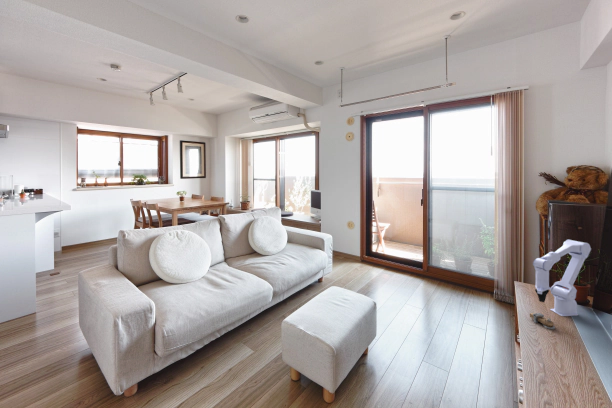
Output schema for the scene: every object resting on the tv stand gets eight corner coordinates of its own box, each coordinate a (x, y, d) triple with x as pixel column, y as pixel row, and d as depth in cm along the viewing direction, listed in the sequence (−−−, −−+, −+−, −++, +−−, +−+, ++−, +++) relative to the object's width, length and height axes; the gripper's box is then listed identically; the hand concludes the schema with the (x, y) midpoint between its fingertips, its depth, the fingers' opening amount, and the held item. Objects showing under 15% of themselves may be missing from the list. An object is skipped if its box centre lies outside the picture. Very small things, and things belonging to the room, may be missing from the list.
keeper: (543, 322, 150) (543, 315, 149) (536, 323, 150) (536, 315, 149) (539, 320, 152) (539, 312, 152) (532, 321, 152) (532, 313, 152)
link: (555, 326, 144) (555, 319, 144) (549, 327, 144) (549, 321, 143) (534, 315, 155) (534, 309, 155) (529, 316, 155) (529, 310, 154)
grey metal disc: (549, 324, 148) (549, 323, 148) (557, 329, 143) (557, 327, 143) (540, 324, 148) (540, 323, 148) (548, 329, 144) (548, 328, 143)
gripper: (549, 285, 145) (548, 308, 147) (553, 276, 155) (553, 299, 156) (532, 281, 151) (532, 304, 152) (537, 274, 160) (537, 295, 162)
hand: (541, 301), depth 155 cm, fingers closed
